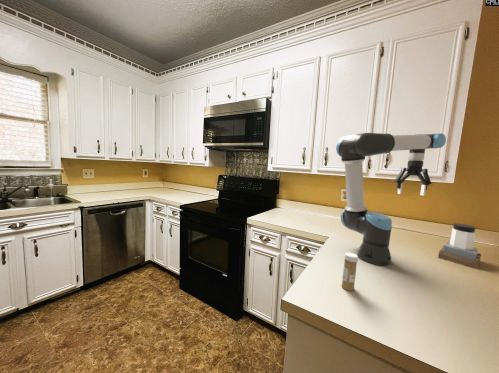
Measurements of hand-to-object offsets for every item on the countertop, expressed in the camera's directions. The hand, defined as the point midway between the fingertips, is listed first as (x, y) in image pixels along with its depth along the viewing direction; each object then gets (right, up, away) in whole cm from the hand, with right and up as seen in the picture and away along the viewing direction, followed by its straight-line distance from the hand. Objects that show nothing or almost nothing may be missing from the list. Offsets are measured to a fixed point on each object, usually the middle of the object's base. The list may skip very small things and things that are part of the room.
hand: (410, 194), depth 132 cm
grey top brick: (+14, -31, -17) cm, 38 cm away
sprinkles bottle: (-62, -34, -49) cm, 87 cm away
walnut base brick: (+14, -35, -16) cm, 41 cm away
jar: (+14, -28, -17) cm, 36 cm away
